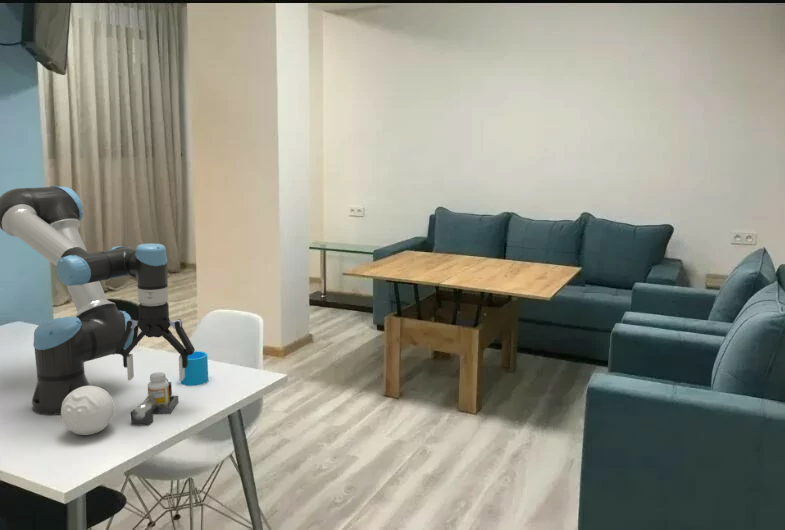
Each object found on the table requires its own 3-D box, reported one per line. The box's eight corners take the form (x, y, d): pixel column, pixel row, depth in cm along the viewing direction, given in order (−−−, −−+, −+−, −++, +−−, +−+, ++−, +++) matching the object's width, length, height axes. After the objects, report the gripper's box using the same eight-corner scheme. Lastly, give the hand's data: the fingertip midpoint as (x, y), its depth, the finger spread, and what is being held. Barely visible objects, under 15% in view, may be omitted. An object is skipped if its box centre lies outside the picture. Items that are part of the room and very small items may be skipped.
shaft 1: (143, 414, 180) (142, 397, 179) (160, 415, 179) (159, 398, 178) (130, 425, 173) (129, 407, 172) (148, 426, 172) (147, 408, 171)
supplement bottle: (158, 403, 187) (157, 370, 186) (174, 406, 185) (172, 372, 184) (144, 410, 182) (142, 376, 181) (160, 413, 180) (158, 379, 179)
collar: (139, 414, 180) (139, 407, 179) (148, 402, 188) (148, 396, 187) (170, 414, 180) (170, 407, 180) (178, 402, 188) (178, 395, 188)
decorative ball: (52, 441, 163) (48, 394, 161) (81, 421, 175) (78, 377, 173) (98, 444, 162) (95, 397, 160) (124, 424, 173) (121, 380, 171)
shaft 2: (170, 401, 189) (169, 385, 188) (151, 402, 188) (150, 386, 187) (172, 392, 195) (171, 376, 195) (154, 393, 194) (153, 377, 193)
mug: (210, 383, 203) (209, 357, 202) (182, 387, 200) (181, 361, 198) (204, 371, 214) (203, 346, 212) (177, 374, 210) (176, 349, 209)
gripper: (99, 305, 174) (104, 383, 178) (198, 306, 176) (200, 384, 180) (110, 298, 181) (114, 373, 186) (204, 299, 183) (206, 374, 187)
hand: (156, 378), depth 183 cm, fingers open, 13 cm apart
